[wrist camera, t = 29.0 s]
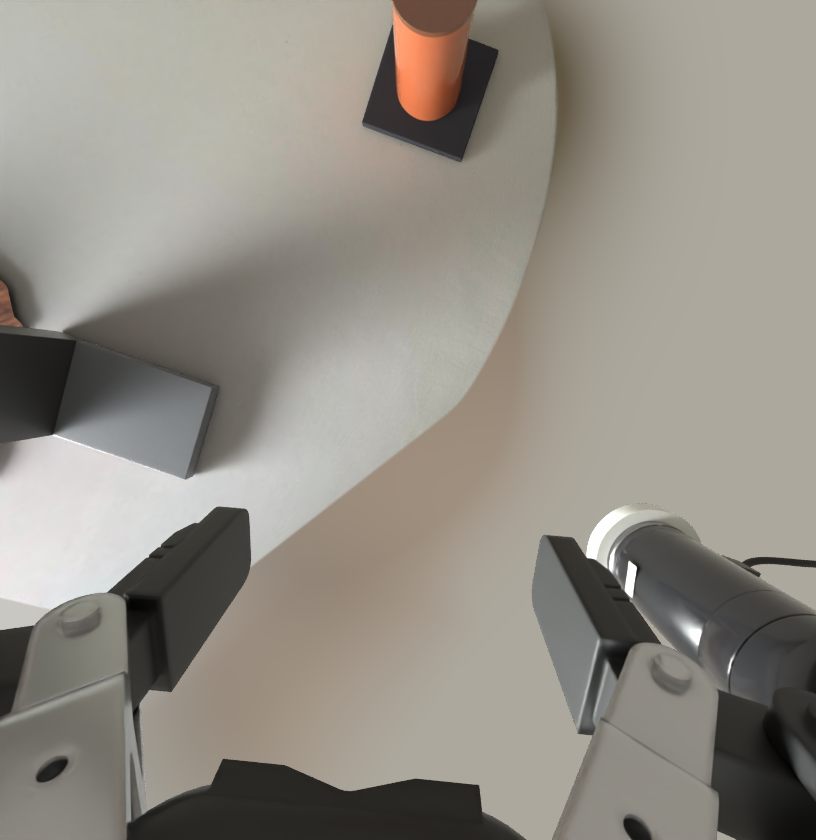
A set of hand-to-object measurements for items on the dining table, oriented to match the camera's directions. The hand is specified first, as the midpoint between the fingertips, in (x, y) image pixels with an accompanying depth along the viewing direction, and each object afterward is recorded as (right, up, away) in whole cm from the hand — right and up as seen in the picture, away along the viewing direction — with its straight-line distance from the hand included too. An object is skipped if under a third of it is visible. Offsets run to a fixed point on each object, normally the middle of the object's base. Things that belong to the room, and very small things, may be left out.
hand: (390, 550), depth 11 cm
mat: (+3, +35, +27) cm, 44 cm away
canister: (+2, +35, +26) cm, 44 cm away
